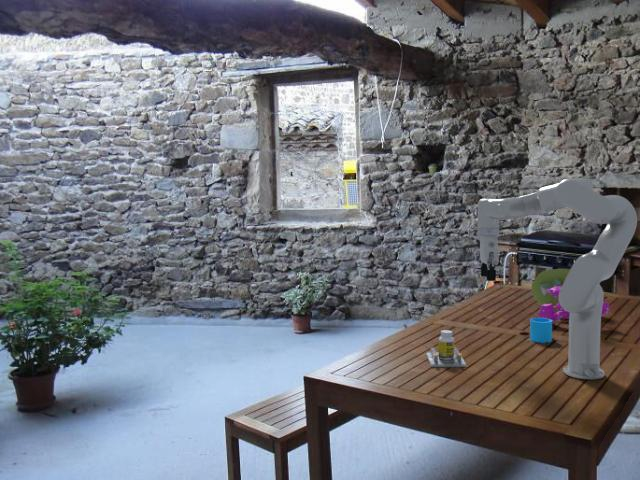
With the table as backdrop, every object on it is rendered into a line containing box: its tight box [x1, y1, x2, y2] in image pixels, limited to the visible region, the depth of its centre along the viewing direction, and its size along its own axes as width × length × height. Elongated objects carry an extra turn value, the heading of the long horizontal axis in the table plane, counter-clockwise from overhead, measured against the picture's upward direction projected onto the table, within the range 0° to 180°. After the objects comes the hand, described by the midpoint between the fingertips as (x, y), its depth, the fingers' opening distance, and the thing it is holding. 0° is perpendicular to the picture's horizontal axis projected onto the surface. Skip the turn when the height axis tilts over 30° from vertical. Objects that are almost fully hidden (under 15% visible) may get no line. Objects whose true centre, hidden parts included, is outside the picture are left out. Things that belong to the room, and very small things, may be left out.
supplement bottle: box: [438, 329, 455, 360], centre depth 215 cm, size 5×5×10 cm
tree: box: [531, 268, 610, 325], centre depth 268 cm, size 30×28×35 cm
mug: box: [529, 317, 553, 344], centre depth 240 cm, size 12×8×8 cm
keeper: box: [426, 346, 467, 368], centre depth 215 cm, size 14×12×4 cm
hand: (488, 278), depth 221 cm, fingers open, 9 cm apart
